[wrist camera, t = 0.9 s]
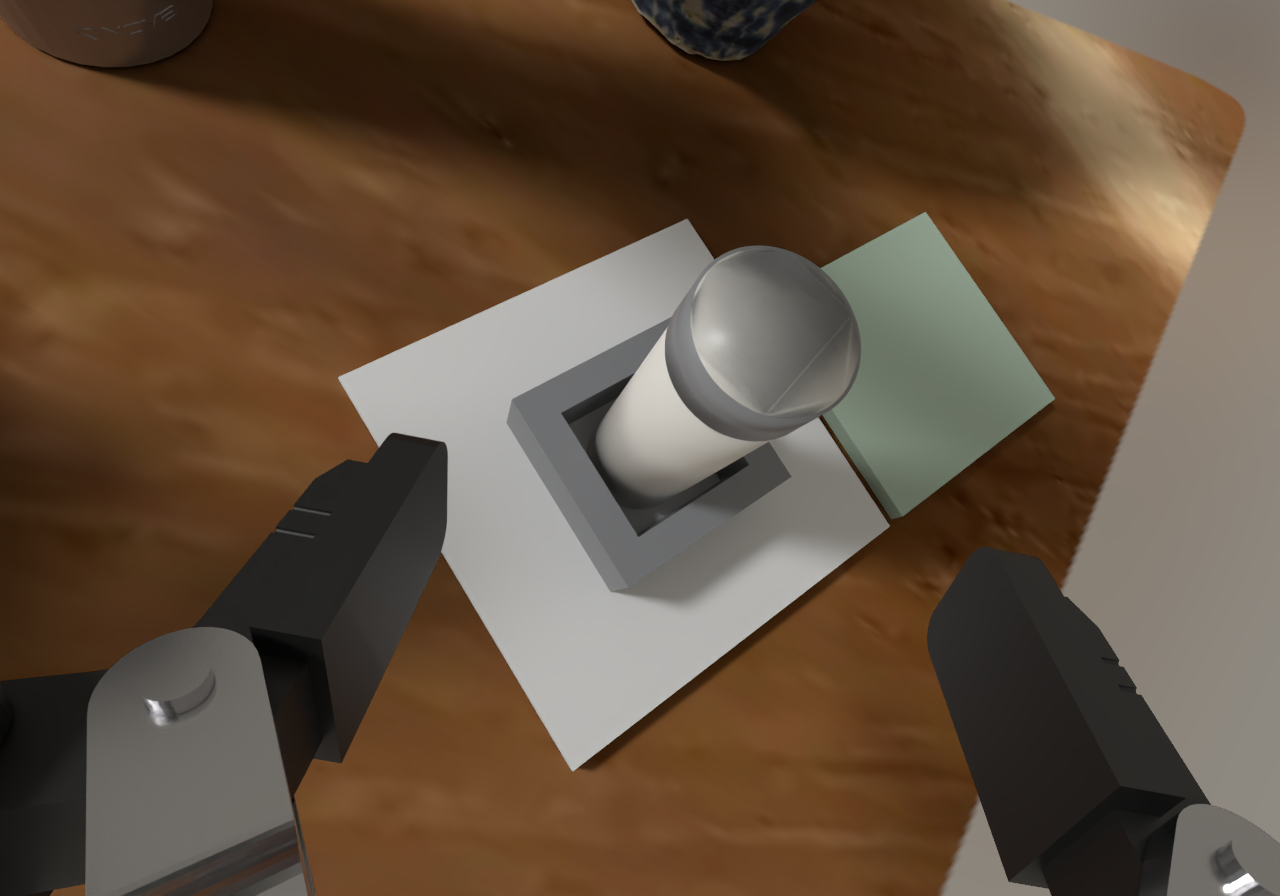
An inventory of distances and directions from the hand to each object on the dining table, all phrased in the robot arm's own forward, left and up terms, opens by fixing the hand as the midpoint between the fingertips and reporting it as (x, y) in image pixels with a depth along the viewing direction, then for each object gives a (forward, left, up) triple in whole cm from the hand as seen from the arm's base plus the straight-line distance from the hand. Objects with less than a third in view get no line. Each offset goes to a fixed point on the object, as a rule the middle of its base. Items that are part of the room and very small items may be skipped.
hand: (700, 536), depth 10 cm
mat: (0, +25, -22) cm, 33 cm away
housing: (-3, +7, -22) cm, 23 cm away
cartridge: (-3, +7, -21) cm, 22 cm away
